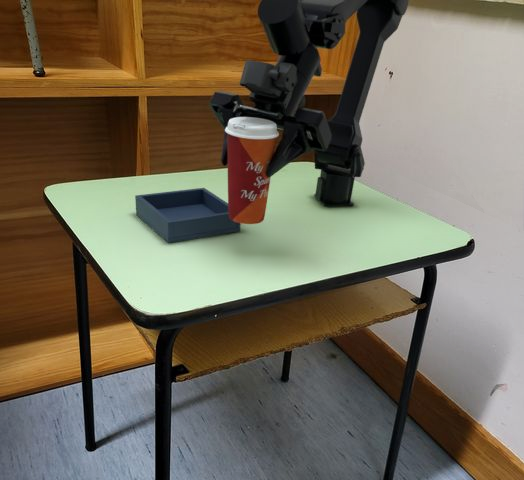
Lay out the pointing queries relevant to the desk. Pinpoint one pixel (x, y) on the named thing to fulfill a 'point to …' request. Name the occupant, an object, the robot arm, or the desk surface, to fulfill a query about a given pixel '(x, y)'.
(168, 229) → the open square box
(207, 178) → the desk surface
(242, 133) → the paper cup
